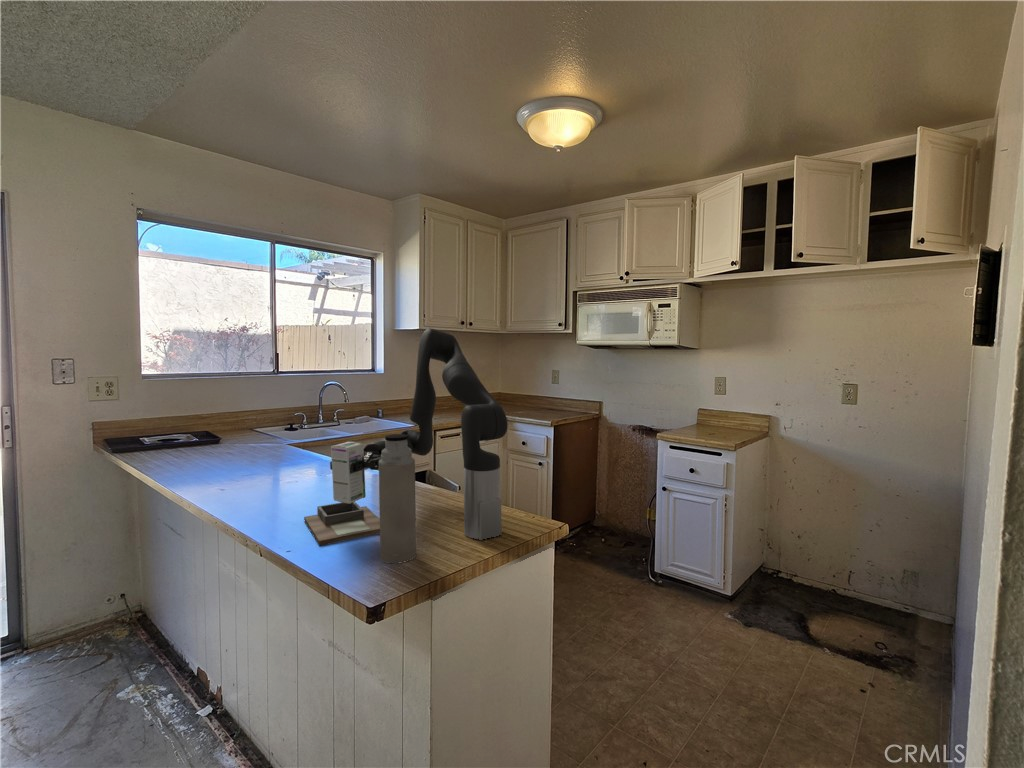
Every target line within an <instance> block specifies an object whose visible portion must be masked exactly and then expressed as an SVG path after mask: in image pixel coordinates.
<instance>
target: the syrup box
mask: <svg viewBox="0 0 1024 768" xmlns="http://www.w3.org/2000/svg"><path fill="white" fill-rule="evenodd" d="M364 448H365V447H364V443H363V442H357V441H345V442H342V443H338V444H335V445H334V444H333V445H331V446H330V453H331V454H330V456H331V457H330V458H331V461H332V470H331V473H332V474H331V475H332V491H333V492H332V495H333V501H335V502H337V503H341V502H342V503H348V504H351V503H352V502H354V501H355V502H357V501H359V500H361V499H364V498H366V477H365V474H366V473H365V471H366V470H363V469H362V470H360V471H357V472H351V464H352V463H355V462H358V461H363V459H364Z"/></svg>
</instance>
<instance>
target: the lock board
mask: <svg viewBox="0 0 1024 768" xmlns="http://www.w3.org/2000/svg"><path fill="white" fill-rule="evenodd" d="M316 513H317V514H312V515H308V516H304V517H303V521H304V520H305V522H306V523H305V522H304V523H305V525H306V524H307V525H308V526H307V525H306V526H307V528H308V527H309V528H308V530H309V529H310V530H311V531H310V530H309V531H310V533H311V532H312V533H311V535H312V534H313V535H314V536H313V535H312V536H313V538H314V537H315V538H314V540H315V541H316V540H317V541H316V543H317V542H318V543H317V544H318V546H319V545H321V546H325V544H326V545H329V544H330V543H331V544H335V543H340V542H344V541H348V540H350V541H351V540H355V539H358V538H363V537H368V536H374V535H378V534H379V535H380V517H379V516H378V515H376V514H375V513H374V512H373V511H372V510H371V509H370V508H368V506H366V505H364V506H360V505H359V504H358V503H357V501H354V502H352V503H351V504H348V503H342V502H337V503H330V504H324V505H317V512H316Z"/></svg>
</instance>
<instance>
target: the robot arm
mask: <svg viewBox="0 0 1024 768" xmlns="http://www.w3.org/2000/svg"><path fill="white" fill-rule="evenodd" d="M417 351H418V352H417V353H418V354H417V362H416V364H417V365H416V376H415V377H416V378H415V388H414V389H415V391H414V394H413V395H414V396H413V400H412V406H411V411H410V415H409V420H410V421H411V423H413V424H416V425H417V426H418V428H419V431H418V430H414V429H405V430H403V431H401V432H400V433H399V434H404V435H407V436H408V439H407V442H408V447H409V448H410V449H411V450H412V454H413V455H414V454H415V455H418V456H424V457H425V456H427V455H428V454H430V452H432V449H433V446H434V445H433V444H434V435H433V434H434V433H433V419H434V418H433V417H434V413H435V409H436V404H437V394H436V391H435V386H434V383H433V381H432V376H431V373H430V372H431V371H430V361H431V360H436V361H438V362H439V361H440V362H442V363H444V364H445V365H444V367H443V370H442V374H441V377H442V382H443V384H444V386H445V387H446V389H447V391H448V393H449V394H450V396H451V397H452V398H454V399H455V400H457V401H458V402H460V403H461V404H462V403H463V404H464V405H465V406H464V407H463V409H462V412H461V417H460V427H461V440H462V441H461V442H462V446H461V447H462V457H463V458H462V459H463V519H464V520H463V521H464V523H463V525H464V526H463V529H464V532H463V534H464V535H465V536H466V537H467V538H470V539H473V538H474V539H476V540H478V539H479V541H484V540H483V539H485V540H488V539H487V538H490V539H492V538H491V537H494V538H496V537H495V536H498V537H500V536H499V535H501V536H502V499H501V458H500V456H499V455H498V454H496V453H493V452H490V451H486V450H484V449H482V448H481V444H480V443H481V442H483V441H485V442H486V441H494V440H499V439H502V438H503V437H504V436H505V435H507V432H508V427H509V426H508V425H509V424H508V417H507V415H506V412H505V411H504V409H503V407H502V405H501V404H500V403H499V402H498V401H497V400H496V399H495V398H494V397H493V396H492V394H491V393H490V391H488V390H487V388H486V386H484V385H483V383H482V382H481V380H480V378H479V377H478V375H477V373H476V372H475V370H474V369H473V367H472V365H471V364H469V362H468V360H467V358H466V357H465V355H464V354H463V351H462V349H461V347H460V345H459V342H458V340H457V339H456V337H455V336H454V335H452V334H451V333H448V332H446V331H445V332H444V331H442V330H438V329H434V328H431V327H430V328H427V329H425V330H424V331H423V333H422V334H421V336H420V340H419V344H418V350H417ZM385 442H386V440H385V438H384V439H381V440H377V441H373V442H369V443H367V444H366V445H365V446H364V447H363V448H364V459H363V461H358V462H355V463H352V464H351V472H357V471H360V470H362V469H363V470H364V471H366V470H369V469H370V470H371V471H379V460H380V459H382V457H381V454H382V450H383V449H385ZM329 468H330V469H329V470H331V471H332V460H330V462H329Z"/></svg>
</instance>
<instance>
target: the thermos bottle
mask: <svg viewBox="0 0 1024 768" xmlns="http://www.w3.org/2000/svg"><path fill="white" fill-rule="evenodd" d="M384 439H385V440H386V442H385V449H383V450H382V454H381V457H382V459H380V460H379V469H378V496H379V497H378V501H379V503H378V505H379V506H378V507H379V508H378V509H379V519H380V533H379V545H380V546H379V549H380V553H379V554H380V556H379V557H380V560H381V561H382V562H383V561H384V562H383V563H386V562H388V563H387V564H391V563H398V564H400V563H399V562H404V561H407V560H410V559H412V558H414V557H415V558H416V557H417V518H416V516H417V515H416V505H417V504H416V503H417V502H416V459H415V458H414V457H413V456H412V454H413V453H412V450H411V449H410V448H409V447H408V442H407V439H408V436H407V435H404V434H400V433H397V434H396V433H393V434H392V433H391V434H387V435H385V437H384ZM415 558H414V559H415ZM412 560H413V559H412ZM410 561H411V560H410ZM404 563H405V562H404Z"/></svg>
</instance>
